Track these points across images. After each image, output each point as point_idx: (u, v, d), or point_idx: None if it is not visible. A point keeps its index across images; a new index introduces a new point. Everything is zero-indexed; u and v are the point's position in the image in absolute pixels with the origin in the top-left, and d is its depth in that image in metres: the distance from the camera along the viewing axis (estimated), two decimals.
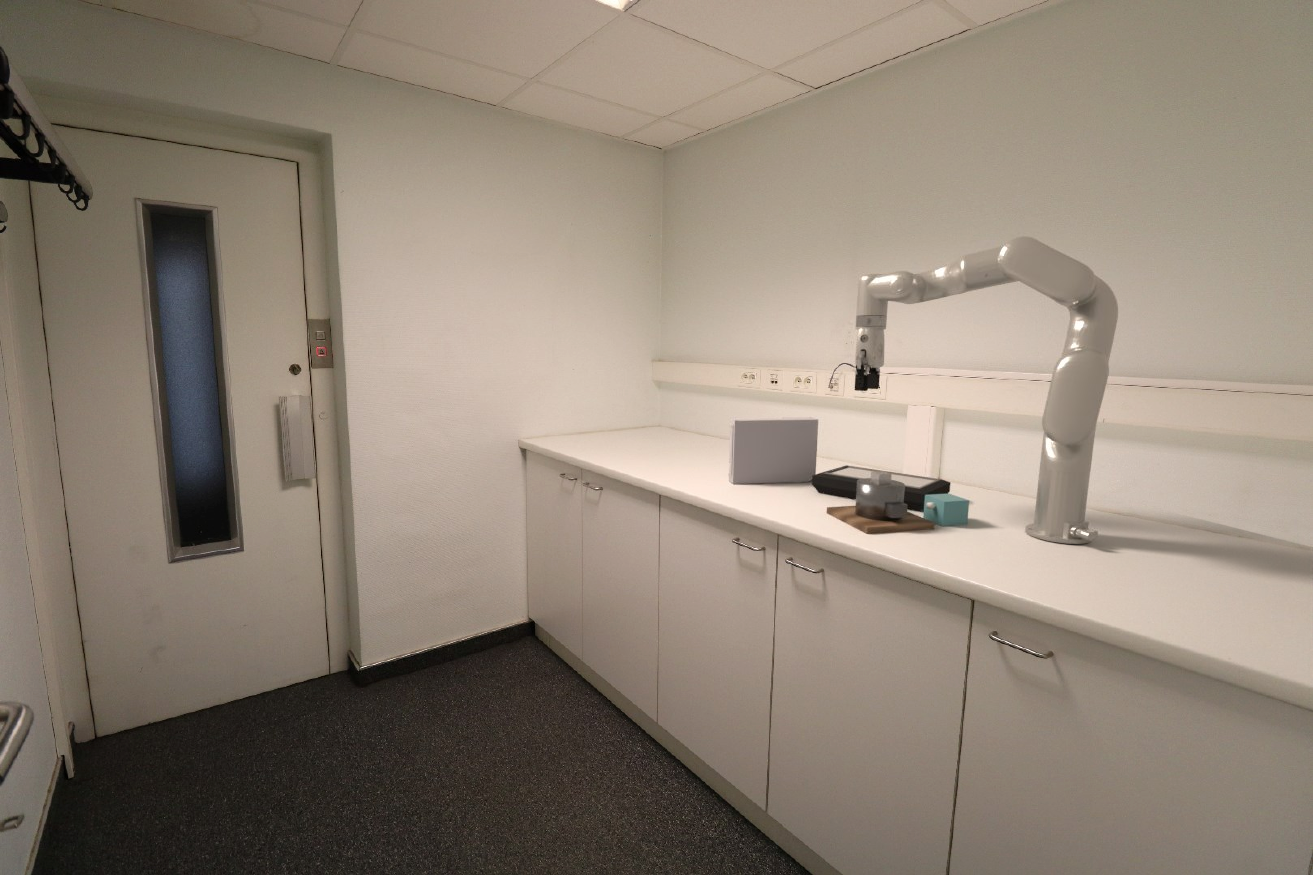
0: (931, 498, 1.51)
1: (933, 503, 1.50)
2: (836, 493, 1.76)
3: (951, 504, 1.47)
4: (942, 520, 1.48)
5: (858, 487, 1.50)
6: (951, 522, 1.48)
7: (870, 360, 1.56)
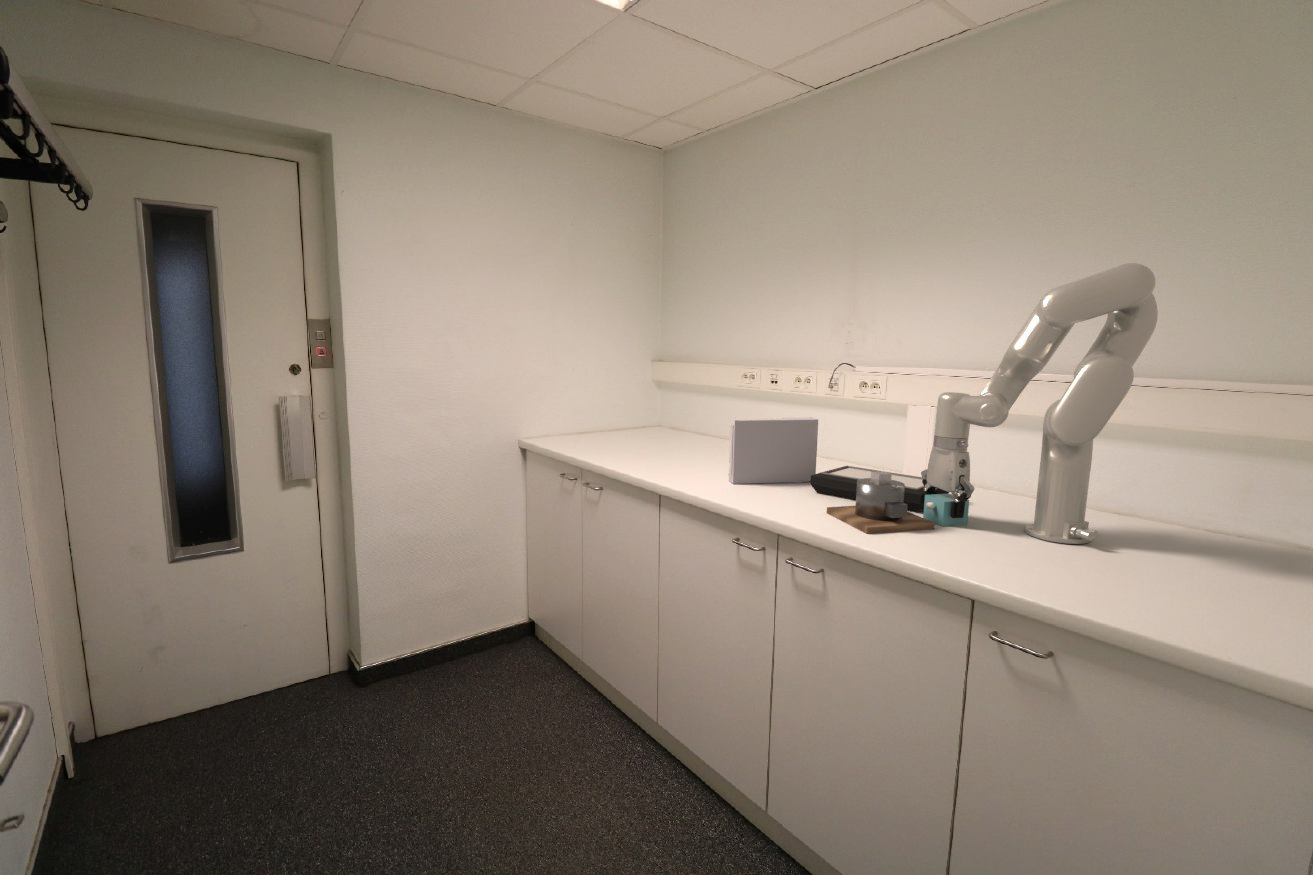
0: (931, 498, 1.51)
1: (933, 503, 1.50)
2: (834, 493, 1.75)
3: (951, 504, 1.47)
4: (942, 520, 1.48)
5: (858, 487, 1.50)
6: (951, 522, 1.48)
7: None
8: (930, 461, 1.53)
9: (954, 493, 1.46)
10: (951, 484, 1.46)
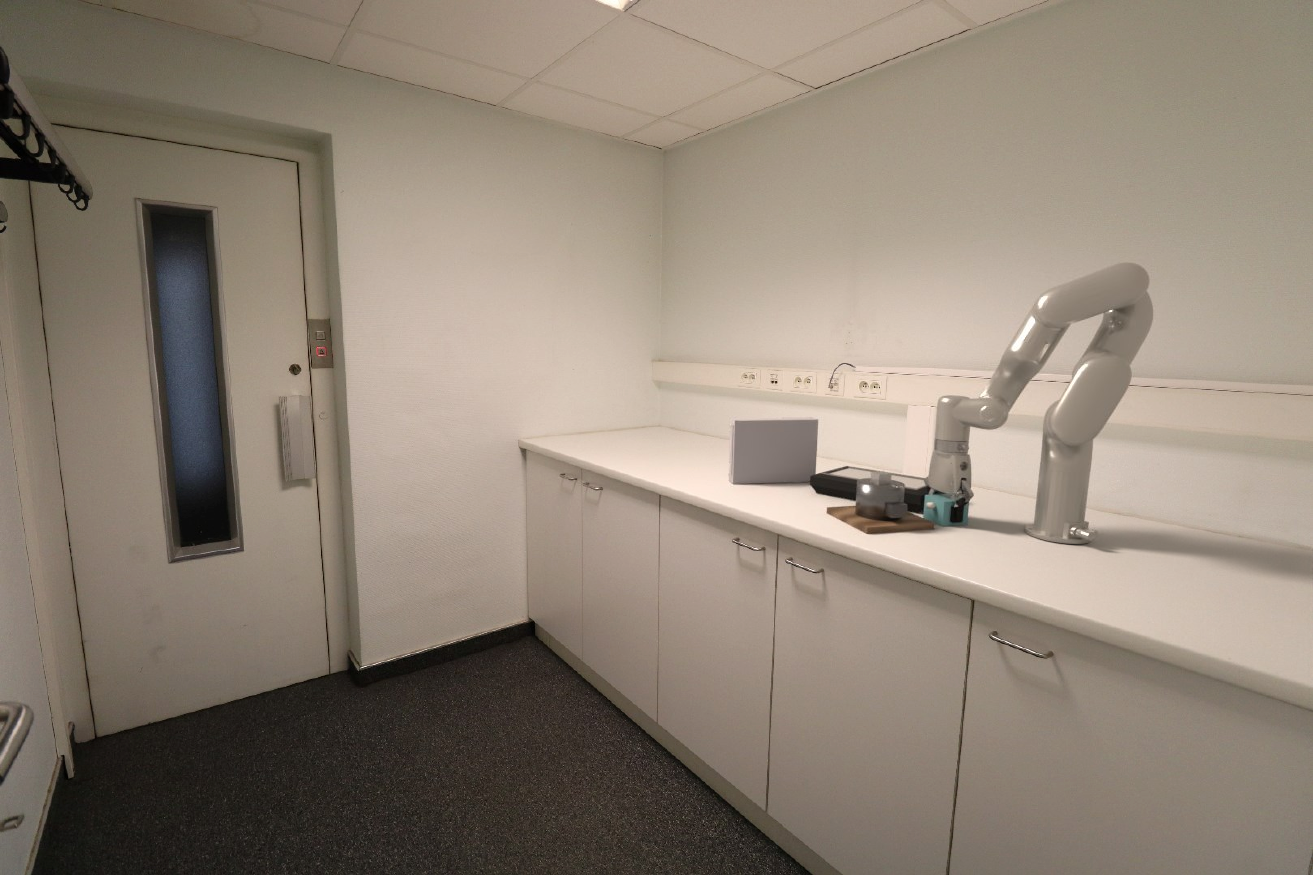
0: (931, 498, 1.51)
1: (933, 503, 1.50)
2: (834, 494, 1.75)
3: (951, 504, 1.47)
4: (942, 520, 1.48)
5: (858, 487, 1.50)
6: None
7: None
8: (931, 464, 1.53)
9: (954, 497, 1.47)
10: (953, 487, 1.46)
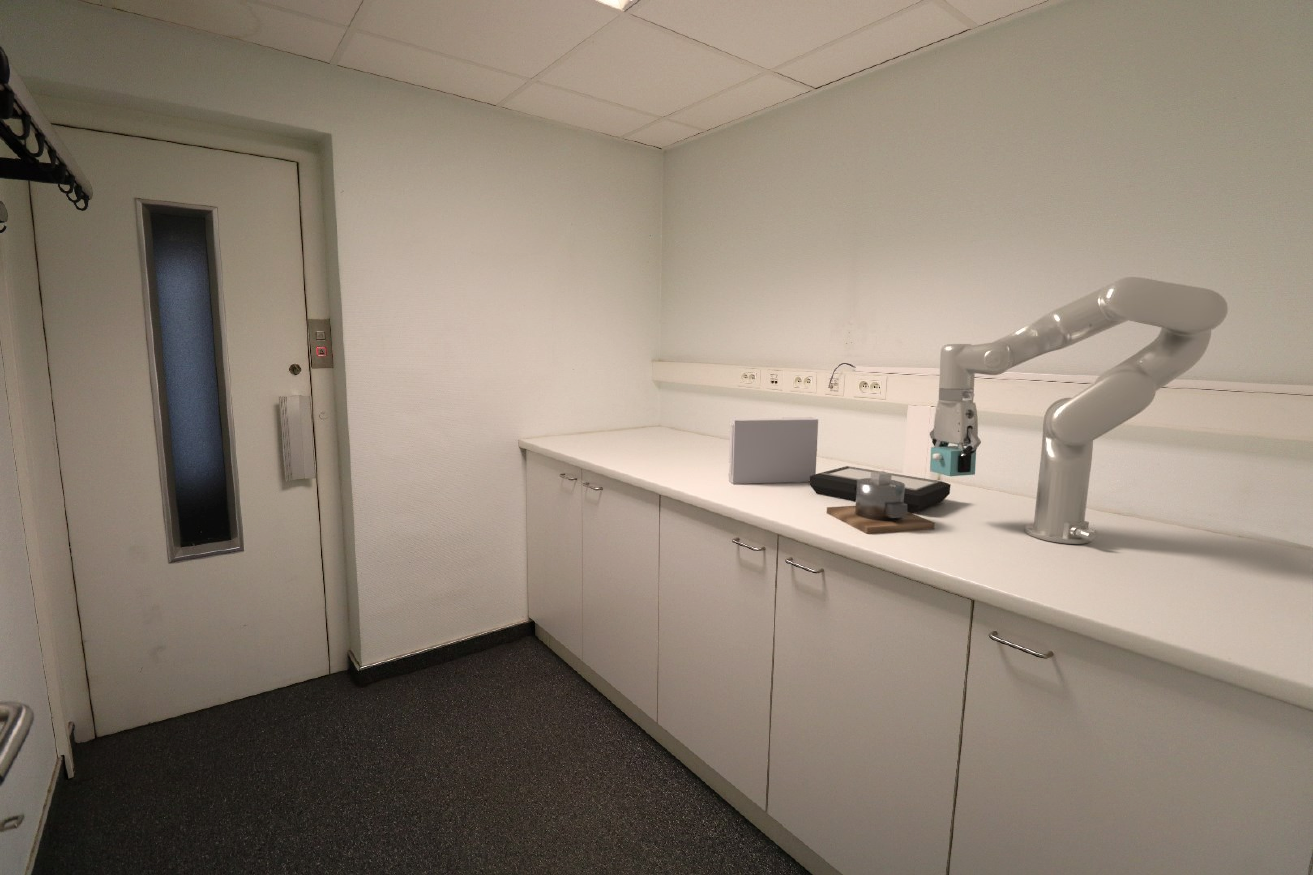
0: (937, 449, 1.49)
1: (940, 454, 1.48)
2: (833, 494, 1.75)
3: (958, 454, 1.45)
4: (949, 470, 1.46)
5: (858, 487, 1.50)
6: (958, 472, 1.46)
7: None
8: (936, 416, 1.51)
9: (960, 447, 1.45)
10: (959, 436, 1.44)
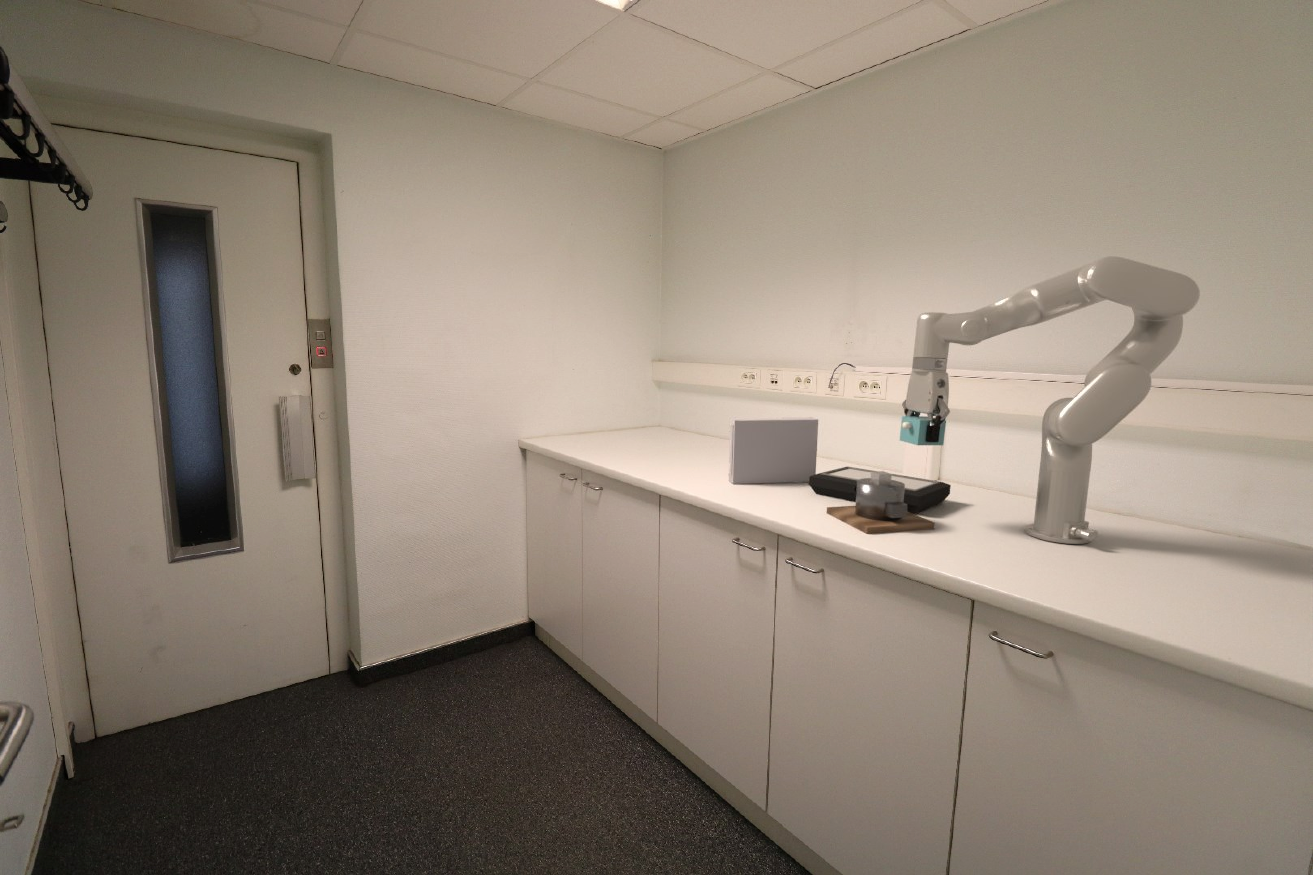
0: (908, 418, 1.49)
1: (909, 423, 1.47)
2: (833, 494, 1.74)
3: (927, 423, 1.45)
4: (917, 439, 1.45)
5: (858, 487, 1.50)
6: (927, 442, 1.46)
7: None
8: (909, 385, 1.50)
9: (930, 416, 1.44)
10: (929, 405, 1.43)
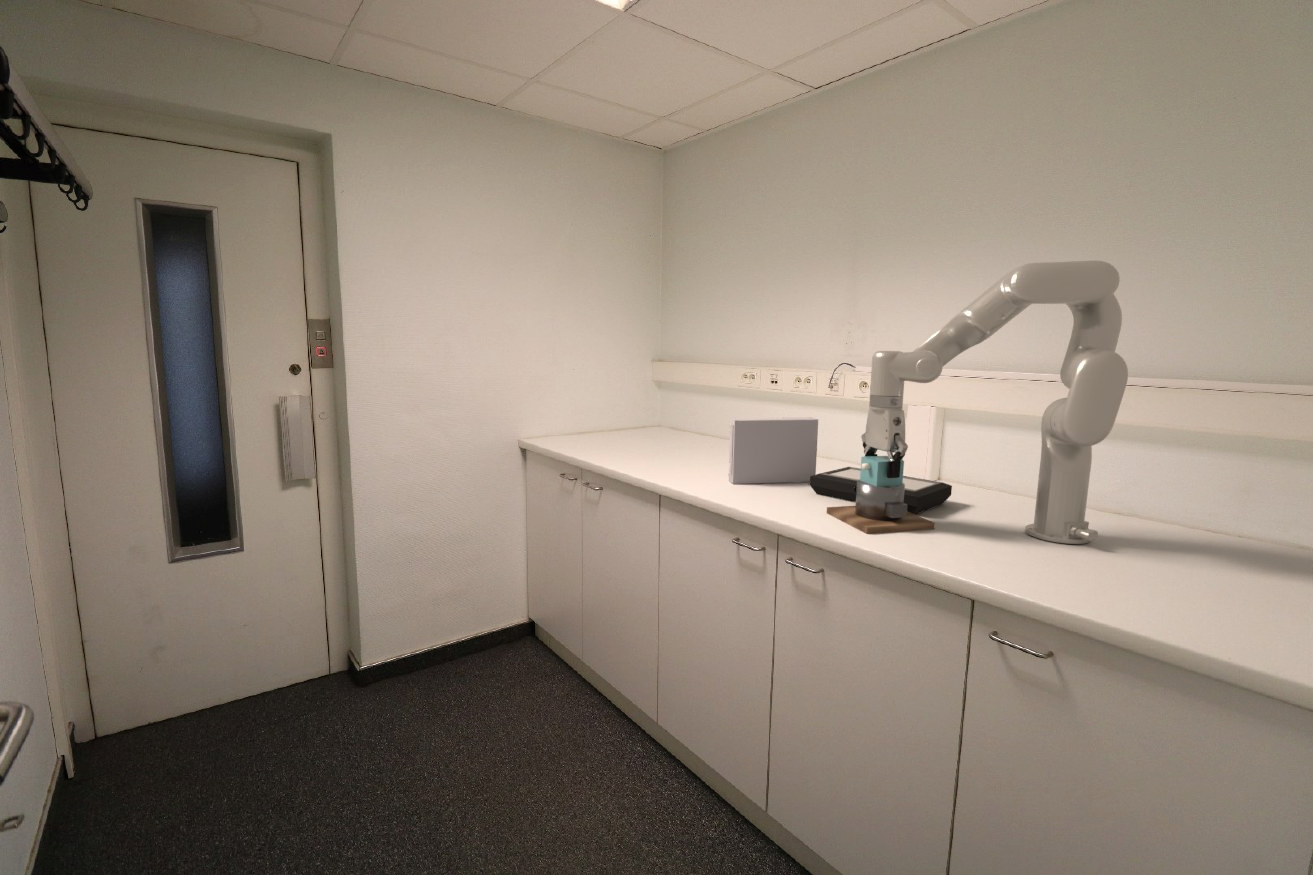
0: (867, 459, 1.50)
1: (868, 464, 1.48)
2: (833, 494, 1.74)
3: (885, 464, 1.46)
4: (876, 481, 1.46)
5: (858, 487, 1.50)
6: (885, 483, 1.47)
7: None
8: (867, 422, 1.51)
9: (889, 452, 1.45)
10: (886, 443, 1.44)
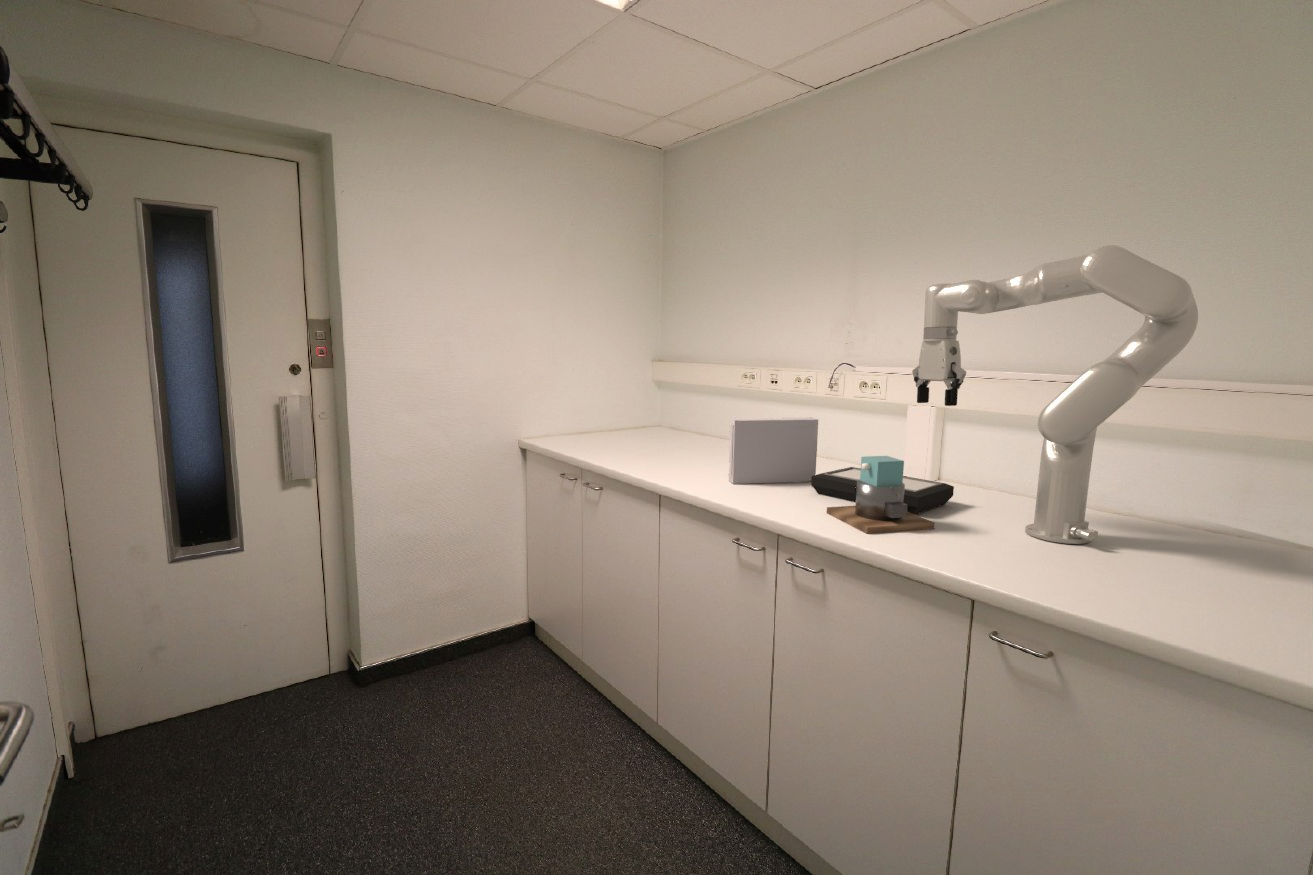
0: (867, 459, 1.50)
1: (868, 464, 1.48)
2: (834, 494, 1.74)
3: (885, 464, 1.46)
4: (876, 481, 1.46)
5: (858, 487, 1.50)
6: (885, 483, 1.47)
7: None
8: (921, 356, 1.56)
9: (947, 381, 1.49)
10: (943, 372, 1.49)
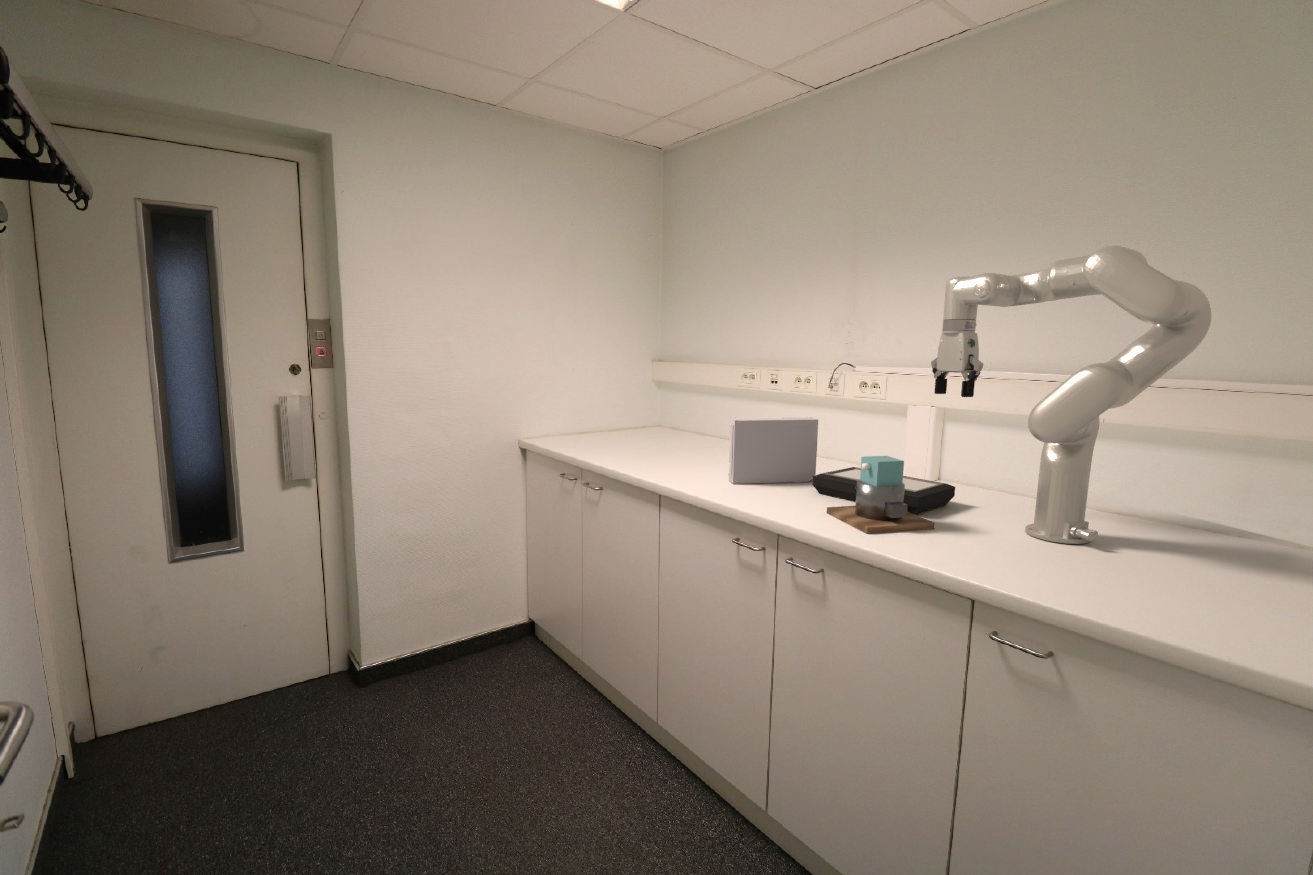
0: (867, 459, 1.50)
1: (868, 464, 1.48)
2: (835, 494, 1.74)
3: (885, 464, 1.46)
4: (876, 481, 1.46)
5: (858, 487, 1.50)
6: (885, 483, 1.47)
7: None
8: (940, 347, 1.59)
9: (964, 372, 1.52)
10: (961, 364, 1.52)
